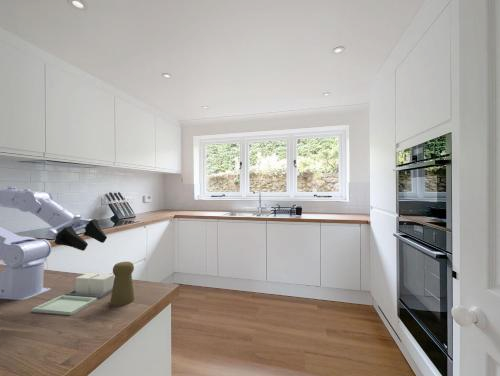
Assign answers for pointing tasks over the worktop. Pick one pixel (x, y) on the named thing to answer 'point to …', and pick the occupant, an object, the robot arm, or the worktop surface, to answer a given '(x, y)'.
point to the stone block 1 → (84, 283)
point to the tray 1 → (65, 305)
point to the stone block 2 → (101, 284)
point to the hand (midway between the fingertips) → (95, 243)
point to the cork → (122, 284)
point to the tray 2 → (72, 293)
